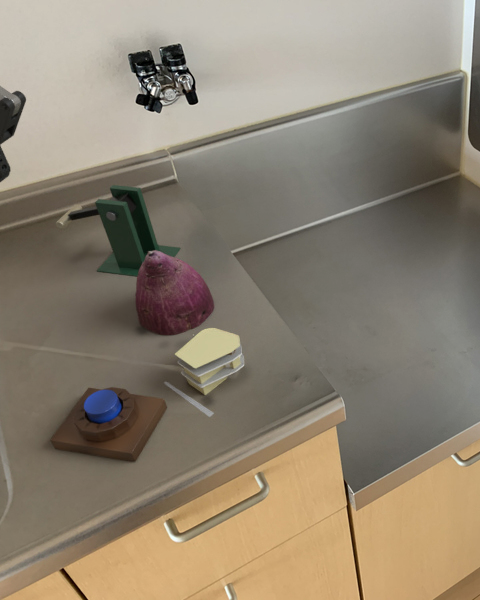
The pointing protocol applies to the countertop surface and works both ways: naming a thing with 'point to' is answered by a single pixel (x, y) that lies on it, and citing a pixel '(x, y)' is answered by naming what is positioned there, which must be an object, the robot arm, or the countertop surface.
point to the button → (102, 406)
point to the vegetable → (171, 295)
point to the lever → (91, 211)
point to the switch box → (111, 427)
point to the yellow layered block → (209, 361)
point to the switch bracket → (128, 233)
